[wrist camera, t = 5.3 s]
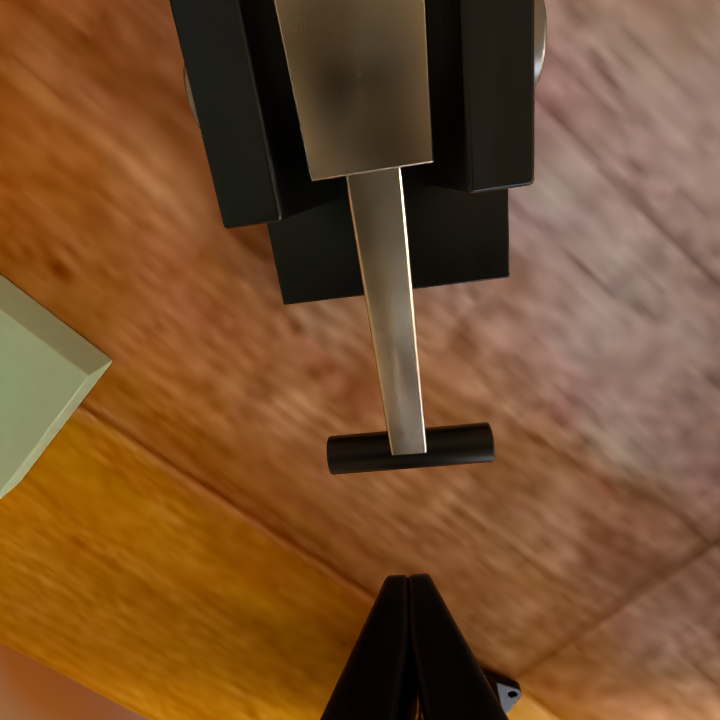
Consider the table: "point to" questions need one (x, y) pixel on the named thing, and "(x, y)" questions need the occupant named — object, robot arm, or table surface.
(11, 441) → the button box
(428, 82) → the lever
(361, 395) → the table surface
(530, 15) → the bracket
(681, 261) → the table surface
